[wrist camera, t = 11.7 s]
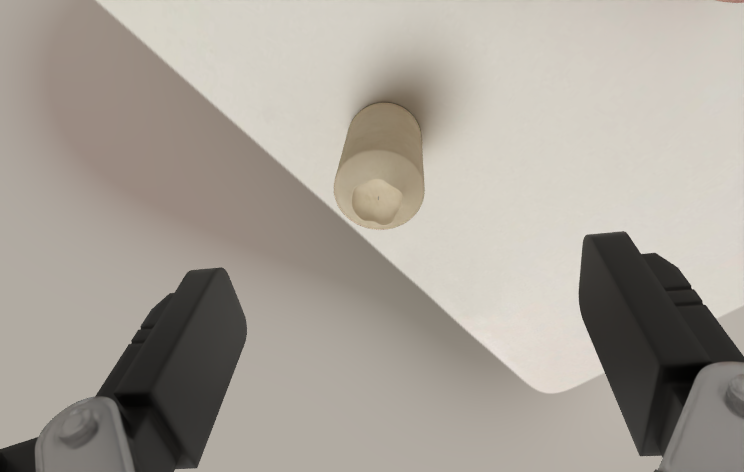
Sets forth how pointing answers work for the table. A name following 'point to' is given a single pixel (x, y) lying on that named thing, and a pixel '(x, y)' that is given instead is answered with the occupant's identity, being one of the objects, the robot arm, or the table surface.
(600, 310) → the robot arm
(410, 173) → the candle
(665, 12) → the table surface
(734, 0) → the apple
